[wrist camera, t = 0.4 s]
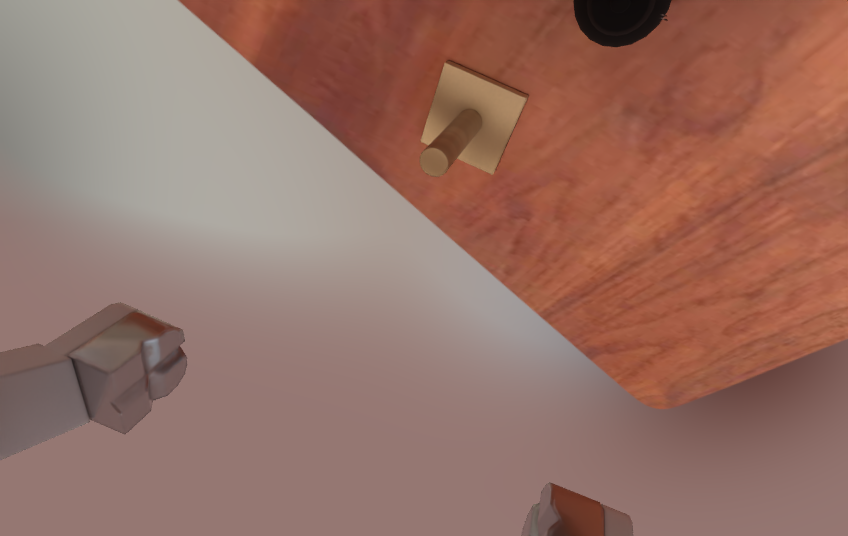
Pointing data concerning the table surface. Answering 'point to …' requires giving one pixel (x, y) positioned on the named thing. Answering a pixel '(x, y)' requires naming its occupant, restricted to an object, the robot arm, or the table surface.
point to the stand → (469, 121)
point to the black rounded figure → (619, 19)
